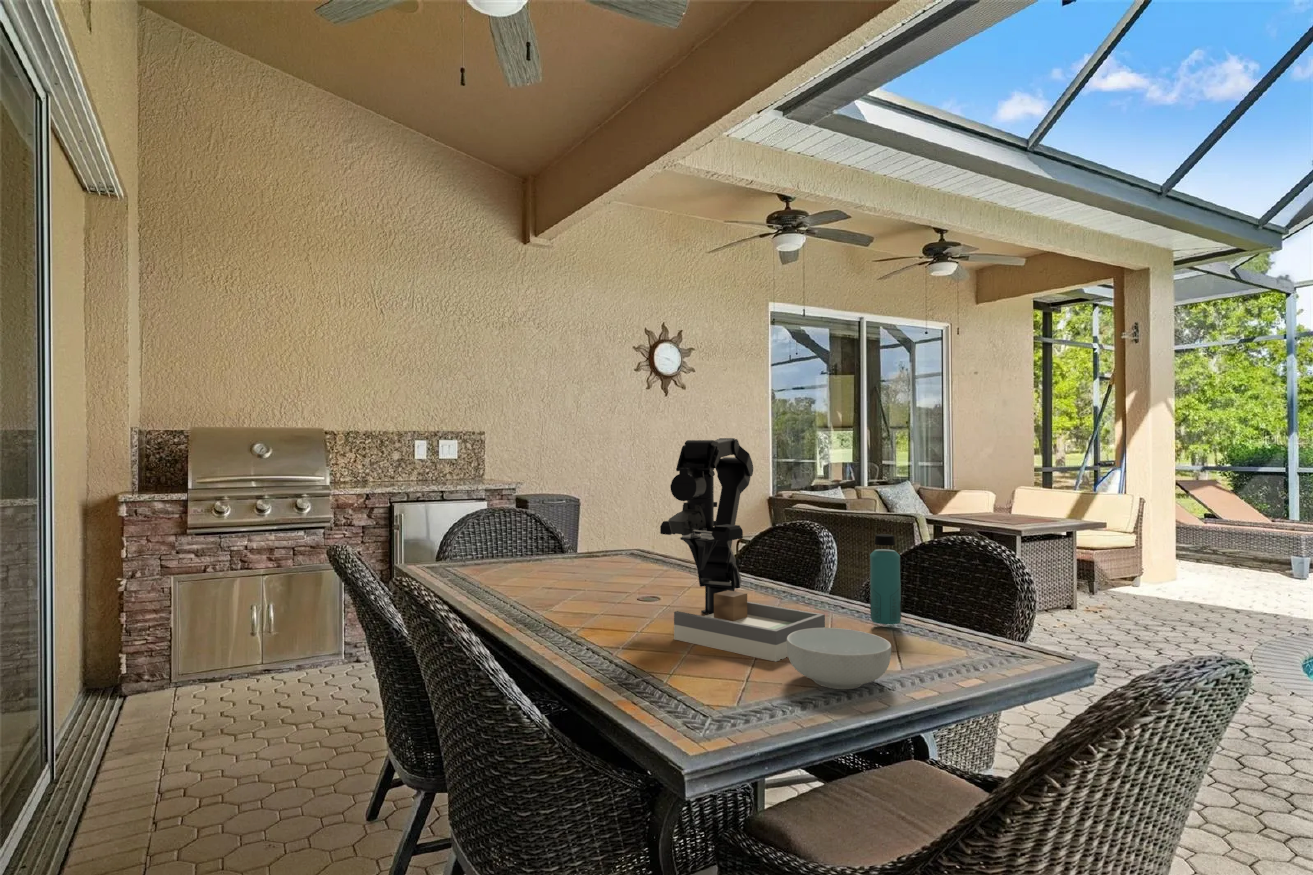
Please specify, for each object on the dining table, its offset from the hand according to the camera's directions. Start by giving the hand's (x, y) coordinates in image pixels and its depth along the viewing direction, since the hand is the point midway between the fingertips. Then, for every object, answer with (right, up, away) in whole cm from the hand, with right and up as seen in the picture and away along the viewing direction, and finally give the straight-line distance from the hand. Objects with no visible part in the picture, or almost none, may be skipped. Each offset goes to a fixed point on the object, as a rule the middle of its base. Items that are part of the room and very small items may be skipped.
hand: (700, 569), depth 166 cm
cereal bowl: (+21, -12, -39) cm, 46 cm away
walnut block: (+6, -9, -5) cm, 12 cm away
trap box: (+9, -12, -13) cm, 20 cm away
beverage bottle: (+39, -12, -2) cm, 41 cm away
